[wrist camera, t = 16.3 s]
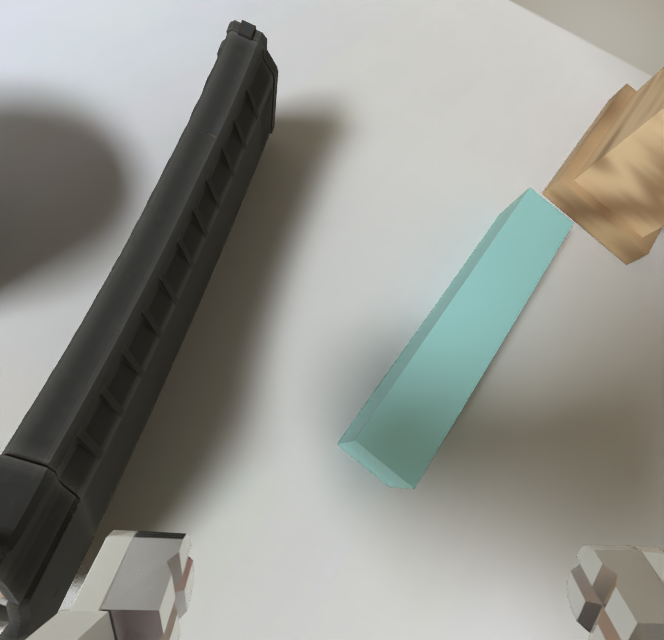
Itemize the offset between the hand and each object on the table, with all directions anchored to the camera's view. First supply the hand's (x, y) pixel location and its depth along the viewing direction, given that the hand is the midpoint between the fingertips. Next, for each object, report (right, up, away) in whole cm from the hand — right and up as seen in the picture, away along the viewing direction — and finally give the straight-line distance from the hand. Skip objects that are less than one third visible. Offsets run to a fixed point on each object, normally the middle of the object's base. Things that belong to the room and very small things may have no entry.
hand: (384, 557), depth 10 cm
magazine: (-11, +5, +18) cm, 22 cm away
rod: (+7, +4, +22) cm, 24 cm away
